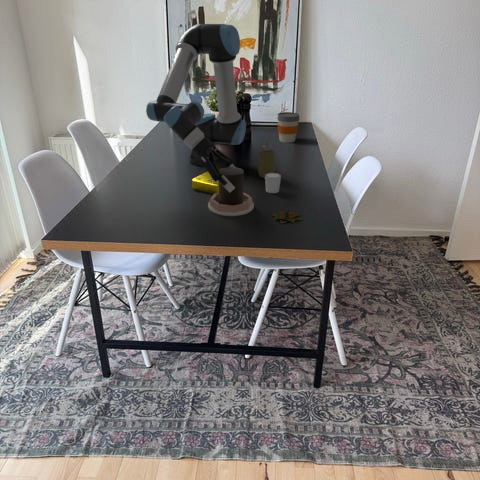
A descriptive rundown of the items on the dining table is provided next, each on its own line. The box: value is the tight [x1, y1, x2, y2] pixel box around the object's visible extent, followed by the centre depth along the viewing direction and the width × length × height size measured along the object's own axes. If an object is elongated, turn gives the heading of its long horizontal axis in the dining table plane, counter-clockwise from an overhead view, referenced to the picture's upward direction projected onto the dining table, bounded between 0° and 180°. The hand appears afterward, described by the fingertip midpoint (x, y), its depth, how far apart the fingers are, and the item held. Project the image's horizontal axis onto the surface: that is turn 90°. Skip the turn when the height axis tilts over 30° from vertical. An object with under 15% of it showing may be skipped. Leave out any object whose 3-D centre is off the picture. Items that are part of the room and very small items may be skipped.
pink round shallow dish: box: [207, 191, 255, 217], centre depth 179 cm, size 18×18×4 cm
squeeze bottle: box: [257, 137, 276, 179], centre depth 207 cm, size 8×8×18 cm
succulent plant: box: [270, 206, 303, 224], centre depth 170 cm, size 12×12×5 cm
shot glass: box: [264, 172, 282, 194], centre depth 194 cm, size 7×7×7 cm
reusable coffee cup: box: [277, 111, 300, 144], centre depth 263 cm, size 13×13×15 cm
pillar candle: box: [218, 166, 245, 205], centre depth 176 cm, size 10×10×15 cm
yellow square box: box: [191, 171, 219, 195], centre depth 199 cm, size 15×15×5 cm
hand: (236, 184), depth 175 cm, fingers open, 13 cm apart
